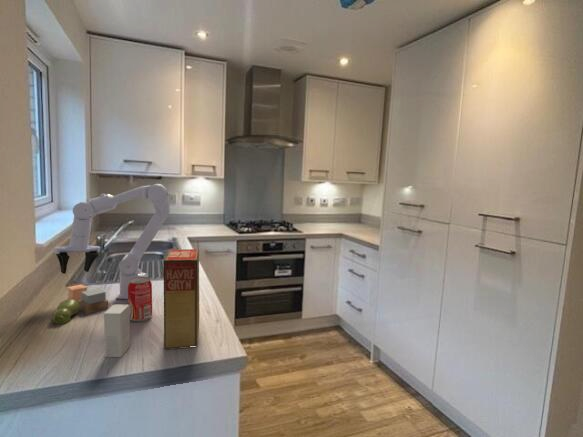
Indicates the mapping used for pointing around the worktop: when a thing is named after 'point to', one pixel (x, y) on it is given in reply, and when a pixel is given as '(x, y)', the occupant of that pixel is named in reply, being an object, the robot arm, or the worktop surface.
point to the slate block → (93, 296)
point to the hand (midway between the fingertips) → (75, 271)
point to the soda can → (140, 298)
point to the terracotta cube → (76, 292)
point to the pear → (65, 311)
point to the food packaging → (181, 298)
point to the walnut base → (92, 306)
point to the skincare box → (117, 330)
